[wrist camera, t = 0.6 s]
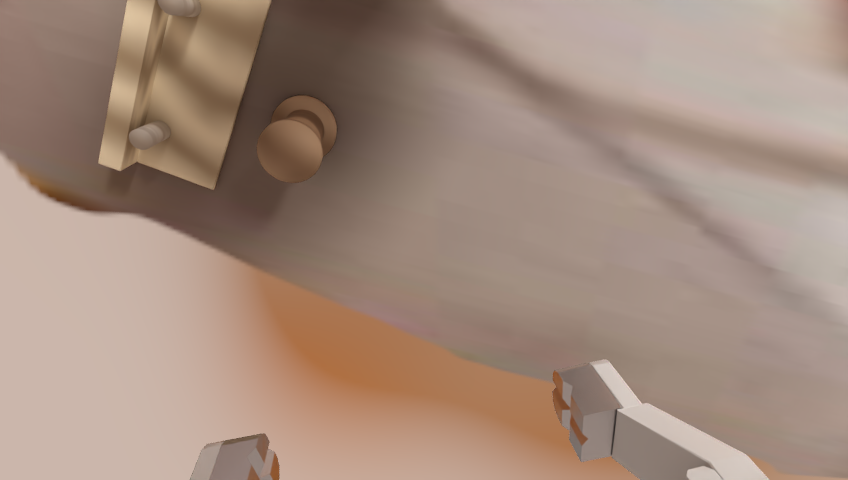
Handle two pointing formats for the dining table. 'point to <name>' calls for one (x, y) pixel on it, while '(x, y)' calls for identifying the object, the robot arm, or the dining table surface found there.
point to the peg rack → (180, 84)
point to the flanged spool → (297, 139)
